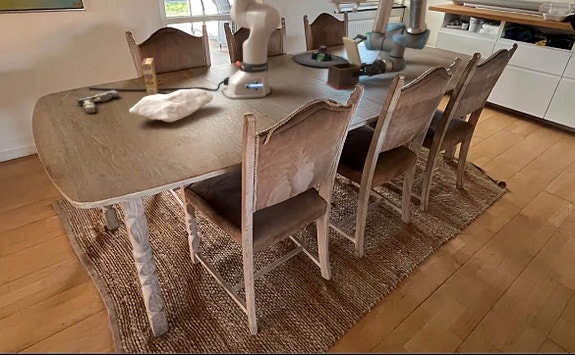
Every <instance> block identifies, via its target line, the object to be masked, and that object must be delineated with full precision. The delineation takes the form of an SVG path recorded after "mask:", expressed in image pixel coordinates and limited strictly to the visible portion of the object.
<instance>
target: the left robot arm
mask: <svg viewBox="0 0 575 355" xmlns="http://www.w3.org/2000/svg"><path fill="white" fill-rule="evenodd" d="M366 2H367V0H328V3H331V4H334V7H335V14H338V15H339V14H341V13H342V9H340V4H343V3H344V4H345V3H346V4H347V3H354V7H353V8H352V11H351V12H352V13H353V14H356V13H358V9H359V7H360V6H361V3H366ZM229 16H230V19H231V21H232V22H233V23H234V24H235V25H237V26H238V27H240V28H243V29H249V35H248V38H247V39H246V40H244V41H243V43H242V59H243V60H242V61H236V62H235V65H236V66H237V67H239V69H237V71H236V72H235V73H234V74H232V75H231V76H227V77H225V78H224V79H223V80H222V81H220V82H219V83H218V84H217V87H216V88H214V89H212V88H207V87H204V86H193V87H192V86H190V87H188V86H187V87H166V88H162V87H161V88H158V90H159V91H177V90H181V89H202V90H204V91H212V92H216V91H218V90H219V89H220V86H221V85H222V84H223V86H226V87H224V88H223V91H222V92H223V94H224V95H225V96H226V97H228V98H230V99H233V100H236V99H237V100H238V99H239V100H240V99H253V98H254V99H255V98H264V97H266V95H268V94H269V93H270V92H271V88H270V84H269V78H268V76H269V75H268V72H269V61H268V47H269V46H268V45H269V40H270V38H271V35H272V34H273V33H274V32H275V31H276V30H277V29H278V27H279V25H280V23H281V15H280V12H279V11H278V9H277V8H276V7H273V6H271V5H269V4H266V3H260V2H257V1H256V0H233V3H232V5H231V7H230V10H229ZM88 89H89V90H96V91H112V90H115V91H117V92H119V91H120V92H147V88H111V87H109V88H108V87H107V88H106V87H92V86H91V87H90V86H89V87H88Z"/></svg>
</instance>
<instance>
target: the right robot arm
mask: <svg viewBox="0 0 575 355" xmlns="http://www.w3.org/2000/svg"><path fill="white" fill-rule="evenodd" d="M394 2H395V0H378V3H377V7H376V12H375V17H374V21H373V24H372V29H371V32H372V33H371V34H368V35H367V36H366V35H365V36H366V37H367V40H365V44H364V47H365V48H366V49H367V48H368V49H367V50H372V51H379V52H378V54H377V56H376V59H375V60H374V61H373V62H372V63H367V62H361V63H362V65H361V66H359V67H361V70H360V71H354V75H353V77H359V78H360V77H364V76H365V77H368V78H371V77H374V76H379V75H386V74H393V73H399V72H403V71H404V70H405V69H406V68H407V59H406V58H405V57H404V56H405V51H406V48H407V49H412V50H419V51H420V50H423V49H425V47H426V45H427V44H428V43H427V42H428V40H429V38H430V36H431V35H430V34H431V29H430V28H428V24H427V23H426V14H427V2H428V0H409V12H408V14H409V15H408V17H409V18H408V23H407V24H406V23H405V22H390V23H389V21H390V17H391V14H392V9H393V5H394ZM352 64H353V63H352ZM354 65H356V64H354ZM357 66H358V65H357Z"/></svg>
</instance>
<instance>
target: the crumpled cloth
mask: <svg viewBox="0 0 575 355" xmlns="http://www.w3.org/2000/svg"><path fill="white" fill-rule="evenodd" d="M213 97H214V96H213V94H212V93H210V92H208V91H207V90H205V89H181V90H174V91H173V92H171V93H167V94H163V93H158V94H156V95H150V96H148V95H146V96H144V97H142V98H141V99H140V100H139V101H138V102H137V103H136V104H134V105H133V106H132V107H131V108H129V114H130V115H135V116H140V117H145V118H146V119H149V120H152V121H155V120H158V121H163V122H166V123H174V122H176V121H178V120H181V119H183V118H185V117H188V116H190V115H192V114H193V113H195V112H196V111H197V110H199V109H200V108H202V107H204V106H206V105H207V104H210V102H211V101H212V100H213V99H214V98H213Z"/></svg>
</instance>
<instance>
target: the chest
mask: <svg viewBox="0 0 575 355" xmlns="http://www.w3.org/2000/svg"><path fill="white" fill-rule="evenodd" d="M327 69H328V71H327V80H326V84H327V85H329V86H331V87H332V88H334V89H336V90H343V89H348V88H349V89H351V88H354V87H355V85H356V84H357V83H358V84H359V83H360V77H353V75H354V71H361V67H359V66H357V65H354V64H352V63H351V62H349V61H348V63H340V64H332V65H329V67H328V68H327Z"/></svg>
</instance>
